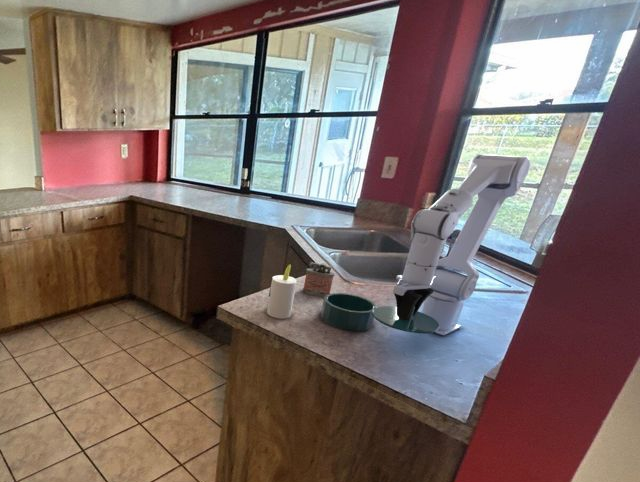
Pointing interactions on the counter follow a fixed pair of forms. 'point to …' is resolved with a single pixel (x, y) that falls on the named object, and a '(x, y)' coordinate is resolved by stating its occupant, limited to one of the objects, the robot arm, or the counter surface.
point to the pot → (348, 311)
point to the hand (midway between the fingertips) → (405, 316)
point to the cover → (406, 320)
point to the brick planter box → (318, 280)
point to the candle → (281, 295)
